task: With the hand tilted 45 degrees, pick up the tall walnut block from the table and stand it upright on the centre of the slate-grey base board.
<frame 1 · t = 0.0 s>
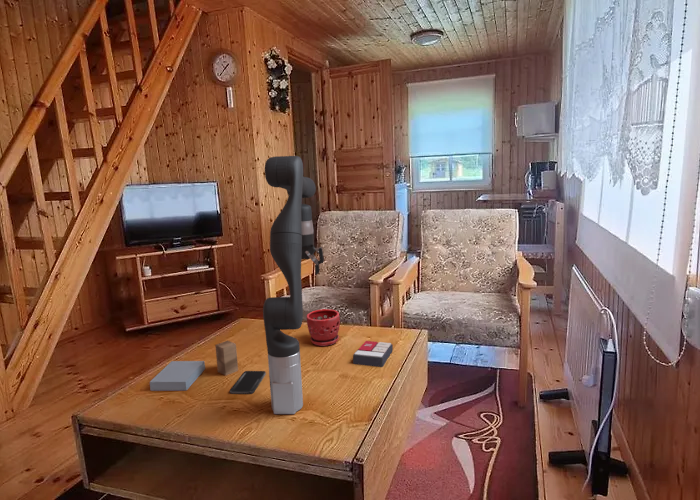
hand: (305, 274, 173), 29 cm above the table, tool pointing down, fingers open, 8 cm apart
walnut block: (228, 371, 160), on the table
calculator: (373, 358, 167), on the table
base board: (179, 379, 155), on the table
phone: (248, 384, 150), on the table
plant pot: (324, 342, 183), on the table
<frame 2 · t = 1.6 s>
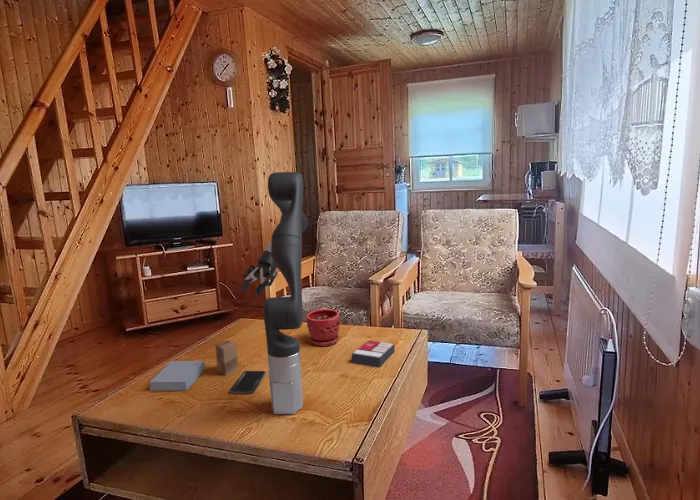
hand: (249, 292, 163), 26 cm above the table, tool tilted 45°, fingers open, 8 cm apart
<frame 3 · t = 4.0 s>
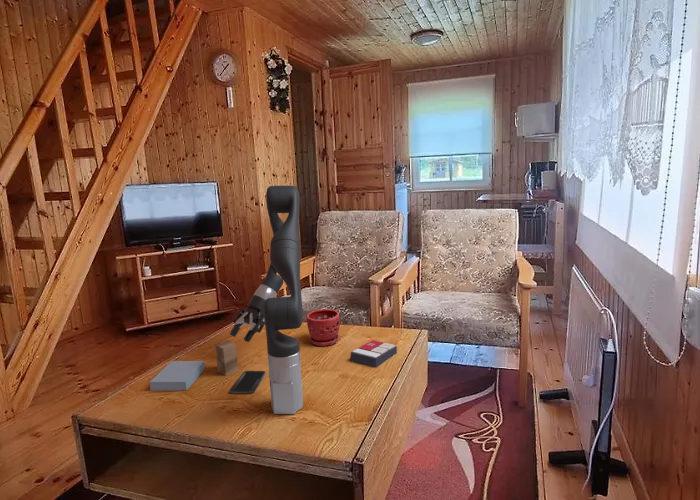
hand: (239, 338, 162), 10 cm above the table, tool tilted 45°, fingers open, 8 cm apart
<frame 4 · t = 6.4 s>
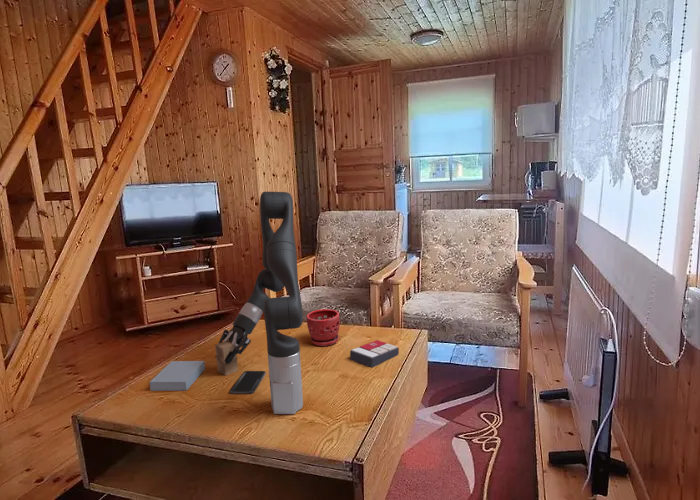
hand: (222, 360, 157), 5 cm above the table, tool tilted 45°, fingers closed on walnut block, 5 cm apart
walnut block: (227, 371, 160), on the table, touching gripper
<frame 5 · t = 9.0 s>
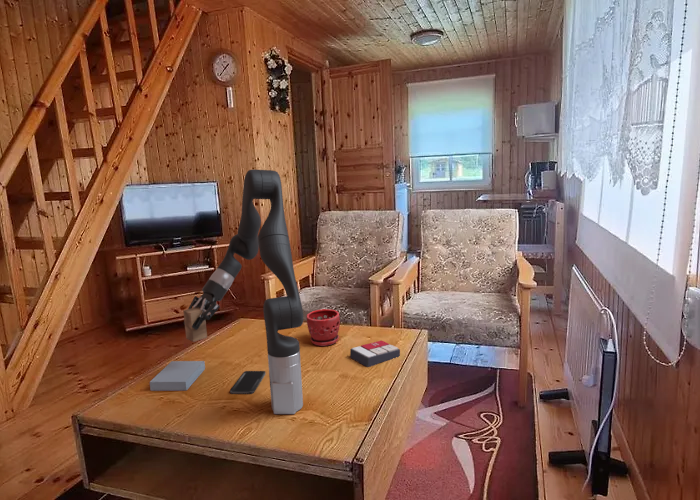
hand: (190, 326, 153), 18 cm above the table, tool tilted 45°, fingers closed on walnut block, 5 cm apart
walnut block: (196, 338, 155), point 13 cm above the table, touching gripper
when the fingers open (9 cm above the table, at t = 12.0 s): walnut block drops 1 cm, resting on base board.
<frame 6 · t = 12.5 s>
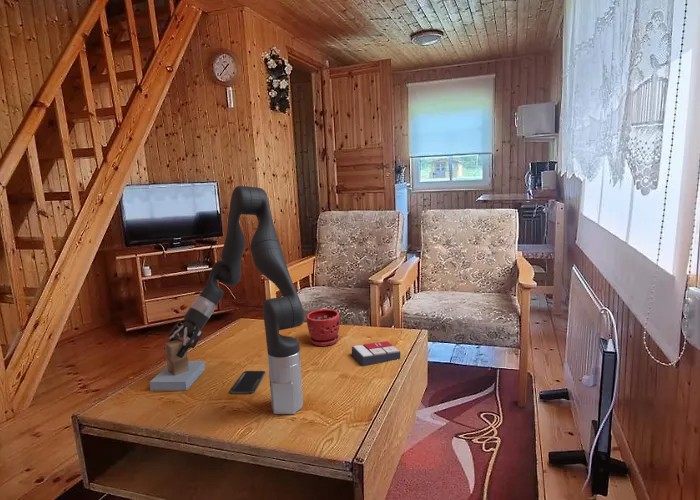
hand: (172, 353, 152), 10 cm above the table, tool tilted 45°, fingers open, 8 cm apart
walnut block: (178, 370, 154), point 3 cm above the table, touching base board
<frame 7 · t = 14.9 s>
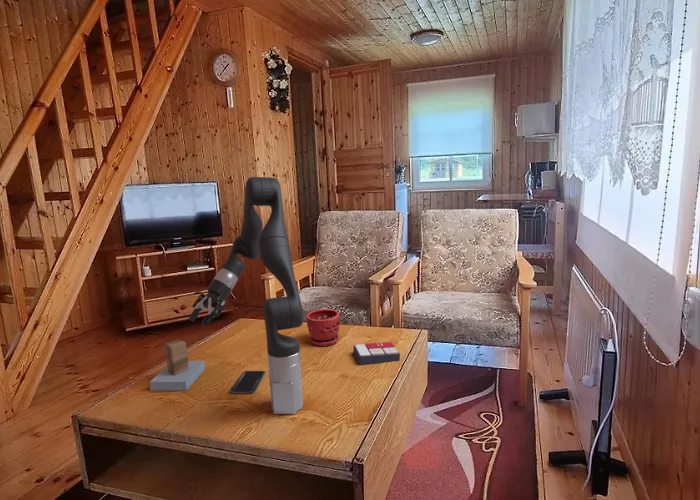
hand: (197, 322, 158), 18 cm above the table, tool tilted 45°, fingers open, 8 cm apart
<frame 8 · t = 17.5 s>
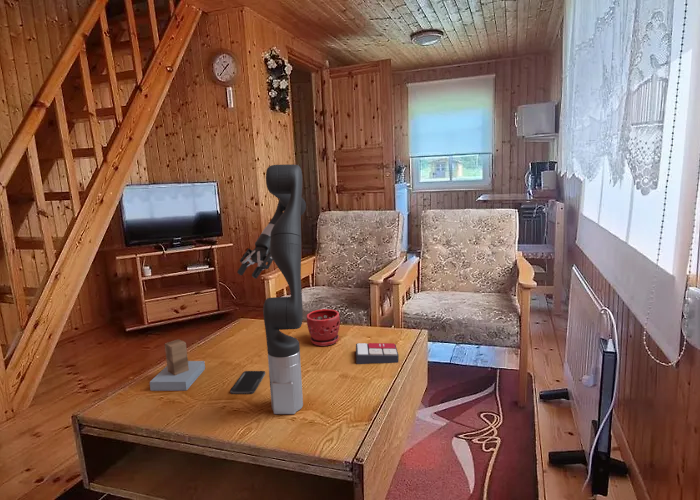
hand: (246, 275, 160), 33 cm above the table, tool tilted 45°, fingers open, 8 cm apart
at the end: walnut block inside the target area on the base board (0.1 cm from its centre), point 3.0 cm above the base board's base; walnut block tilted 0°; the gripper is holding nothing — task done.
